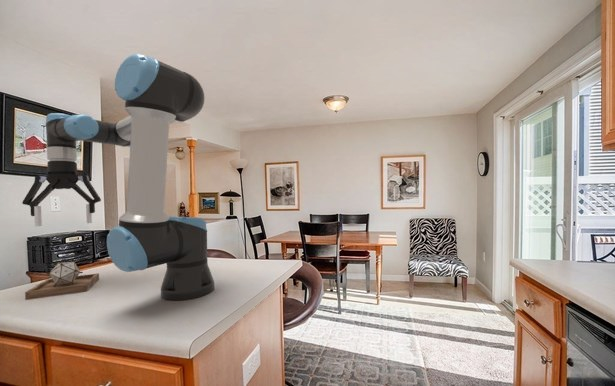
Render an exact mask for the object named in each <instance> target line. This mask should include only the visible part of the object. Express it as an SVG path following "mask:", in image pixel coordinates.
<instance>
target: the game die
mask: <svg viewBox="0 0 615 386" xmlns="http://www.w3.org/2000/svg"><path fill="white" fill-rule="evenodd" d="M76 262H77V259H74V260H73V261H65V262H59V261H57V260H56V265H55V266H54V267H53V268H52V269H51V270H50V271H49V272H45V274H46V275H49V277H50V279H52V280H53V282H54V283H55V285H54V287H55V286H56V285H59V284H68V283H71V284H72V285H73V284H74V283H73V281H74V280H75V279H76V277H77V276H80V274H83V271H80V269H79V268H78V266H77V264H76Z"/></svg>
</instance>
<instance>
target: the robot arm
mask: <svg viewBox="0 0 615 386" xmlns="http://www.w3.org/2000/svg"><path fill="white" fill-rule="evenodd" d="M114 90H115V92H116V95H117V97H119V98H120V99H121V100H122V101H124V102H125V103H124V110H125V112H127V113H128V116H126V117H124V118H123V119H121V120H119V121H117V122H109V121H104V120H103V121H102V120H98V119H95V118H93V117H92V116H91V115H89V114H84V113H82V114H72V115H70V114H66V113H60V112H58V113H57V112H54V113H53V112H51V113H48V114H47V115H46V117H45V119H46V120H45V130H46V131H45V133H46V157H47V158H46V159H47V160H49V161H47V175H46V176H42V175H35V176H34V183H33V184H32V185H31V187H30V189H29V191H28V192H27V194H26V195H25V197H24V198H23V200H22V202H21V204H22V205H26V206H29V207H30V216H31V217H34V227H36V228H37V227H42V225H43V223H42V206H41V205H39V204H41V202H43V200H45V199H46V197H48V196H49V195H50V194H51V193H52V191H54V190H63V189H65V190H71V189H73V190H74V191H75V192H76V193H77V194H78V195H79V196H81V197H82V198H83V199H84V200H85V201H86V202H87V203H88V204H85V205H86V206H85V208H86V210H85V211H86V214H85V215H86V224H92V223H93V219H92V218H93V217H92V216H93V215H92V214H94V213H95V212H96V208H95V206H96V205H95V204H96V203H99V202H101V201H102V199H101V197H100V196H99V194H98V192H97V191H96V190H95V188H94V186H93V185H92V183H91V182H90V177H89V175H86V174H83V175H78V164H77V162H75V161H77V160H78V157H77V142H81V141H82V142H83V141H84V142H90V143H97V144H104V145H111V146H118V147H119V146H120V147H123V148H125V147H128V148H129V160H128V165H129V166H128V178H127V179H128V181H127V198H126V199H127V200H126V212H124V213H123V214H122V215H121V216H119V219H118V225H117V226H115V227H113V228H111V229H110V230H109V232H108V234H107V236H106V248H107V253H108V256H109V258H110V260H111V261H112V264H113V265H114V266H115V267H116V268H117V269H118V270H121V271H122V272H124V273H126V272H127V273H128V272H129V273H131V272H137V271H145V270H146V269H151V268H153V267H156V266H161V265H165V264H166V271H165V273H164V278H163V280H162V283H161V286H160V298H162V299H164V300H167V301H184V300H190V299H195V298H199V297H200V298H201V297H203V296H206V295H208V294H210V293H212V292H213V291H214V290H215V280H214V277H213V275H212V271H211V270H210V267H209V263H208V262H209V261H208V229H207V222H206V220H205V218H203V217H197V216H195V217H192V216H168V215H167V214H166V213H165V200H166V199H165V198H166V185H167V184H166V183H167V170H168V169H167V167H168V165H167V164H168V151H169V133H170V125H171V124H173V123H175V122H179V123H180V122H181V123H183V122H186V121H188V120H191V119H192V118H195V117H197V115H198V114H199V113H200V112H201V111H202V109H203V107H204V104H205V92H204V89H203V87H202V84H201V83H200V82H199V80H197V78H196V77H194V76H193V75H192V74H190V73H187V72H185V71H182V70H181V69H178V68H176V67H173V66H171V65H169V64H166V63H164V62H162V61H160V60H158V59H157V58H155V57H150V56H147V55H145V54H142V53H133V54H131V55H129V56H127V57H126V58H125V59H124V60H123V62H122V63H121V64H120V66H119V67H118V69H117V71H116V74H115V78H114ZM46 181H47V182H48V185H47V186H46V187H45V188H44V189H43V190H42V191H41V192H39V190H40V188H41V187H42V185H43V183H45V182H46ZM79 181H80V182H81V183H83V184H84V186H85V188H86V189H87V190H88V192H89V193H90V195H91V196H90V195H89V194H87V192H85V191H84V190H83V189H82V188H81V187H80V186H79V185H78V184H77V183H78V182H79ZM38 192H39V194H38ZM37 194H38V195H37ZM36 195H37V196H36Z"/></svg>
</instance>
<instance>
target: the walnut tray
mask: <svg viewBox="0 0 615 386" xmlns="http://www.w3.org/2000/svg"><path fill="white" fill-rule="evenodd" d="M99 280H100V274H99V273H91V274H82V275H78V276H77V277H76V279H75V280H74V281H73V283H74V284H73V285H72V284H71V283H68V284H59V285H56V286H55V287H54V285H55V283H54V282H53V280H52V278H48V279H45V280H44V281H41V282H40V283H38V284H37V285H35V286H34V287H32V288H30V289H28V290H26V291H25V292H24V295H25V296H24V298H25V299H24V300H34V299H41V298H45V297H46V298H48V297H54V296H62V295H69V294H79V293H84V292H87V291H89V290H90V289H91V288H92V287H93V286H94V285H95V284H96V283H97V282H98V281H99Z"/></svg>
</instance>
